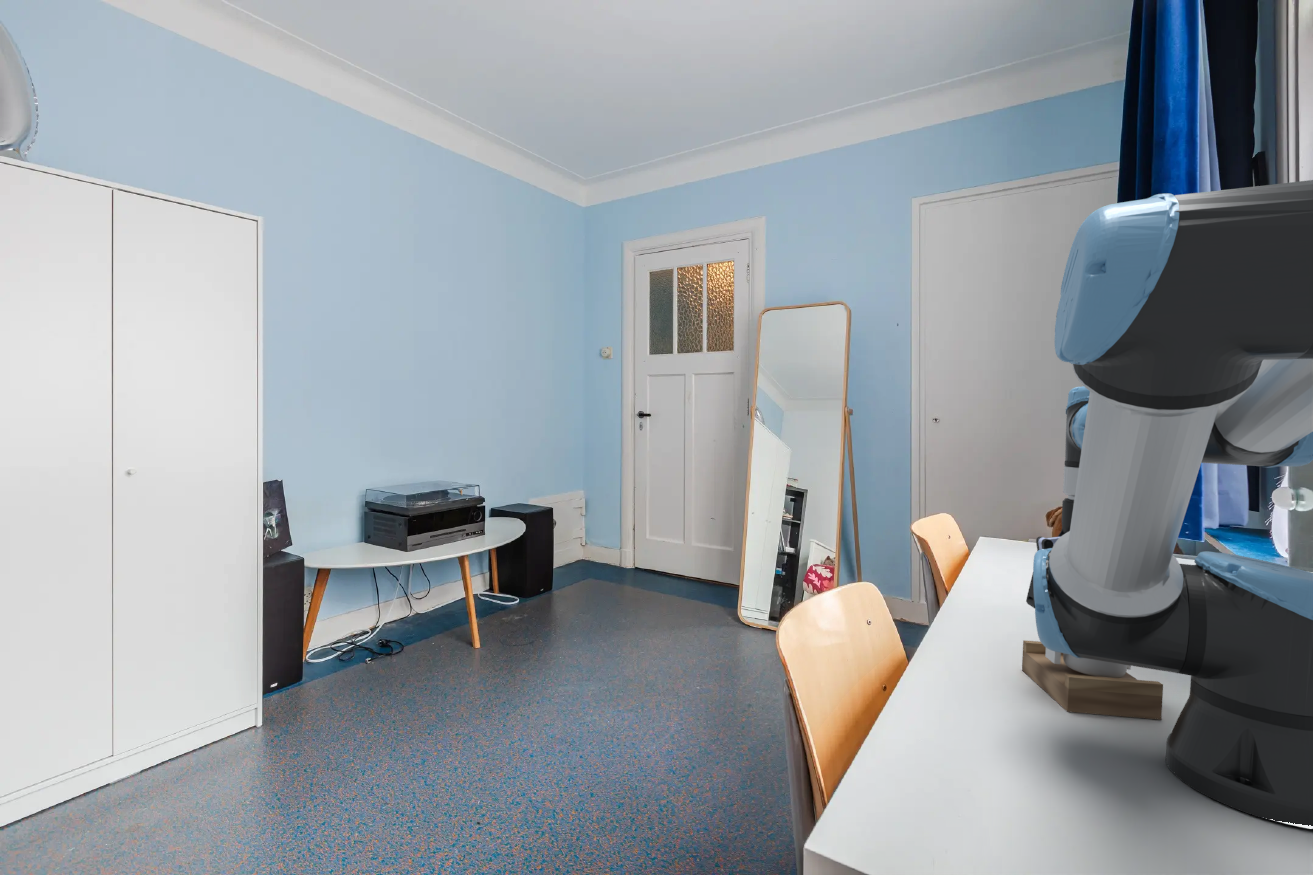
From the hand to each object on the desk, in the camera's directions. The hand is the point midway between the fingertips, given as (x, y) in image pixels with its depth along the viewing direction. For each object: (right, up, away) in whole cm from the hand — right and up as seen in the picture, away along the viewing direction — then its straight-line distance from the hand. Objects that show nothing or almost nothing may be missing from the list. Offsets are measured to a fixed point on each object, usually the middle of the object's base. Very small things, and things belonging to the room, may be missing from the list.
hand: (1087, 662), depth 89 cm
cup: (-1, -1, 0) cm, 1 cm away
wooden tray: (0, -4, 0) cm, 4 cm away
